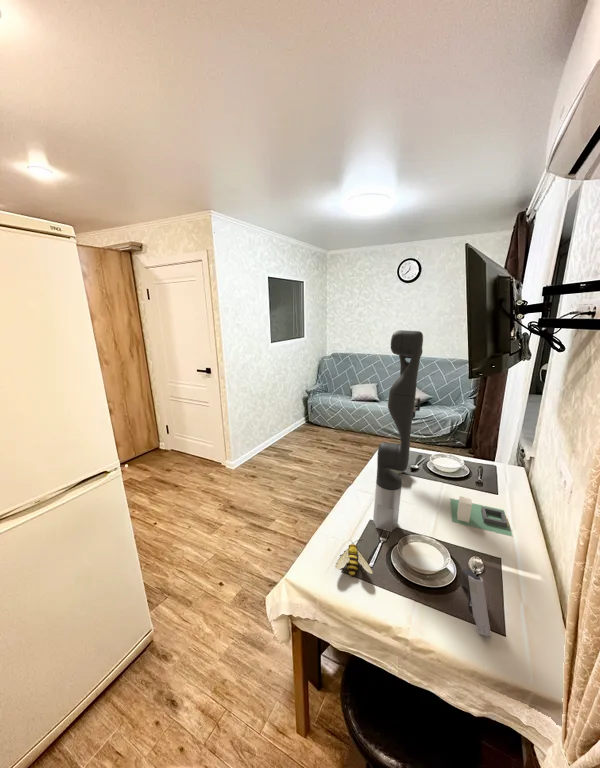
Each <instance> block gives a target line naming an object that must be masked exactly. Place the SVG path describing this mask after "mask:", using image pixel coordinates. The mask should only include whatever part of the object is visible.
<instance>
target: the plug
mask: <svg viewBox="0 0 600 768" xmlns="http://www.w3.org/2000/svg"><path fill="white" fill-rule="evenodd" d="M458 500H459V503H458V510H457V520H460V521H464V522H468V523H469V520H470V514H471V508H472V503H473V502H472V498H470V497H469V498H468V497H465V496H459V498H458Z"/></svg>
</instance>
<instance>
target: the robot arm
mask: <svg viewBox="0 0 600 768" xmlns="http://www.w3.org/2000/svg"><path fill="white" fill-rule="evenodd" d="M423 345H424V335H423V332H422V331H420V330H404V329H403V330H401V329H400V330H396V331H394V332H393V333H392V336H391V338H390V351H391V353H393V354H394V355H397V356H398V357H399V364H400V365H399V366H400V369H399V370H400V371H399V377H398V378H397V379H396V380H395V381H394V383H393V384H391V387H390V389H389V394H388V399H387V400H388V401H387V408H388V409H387V410H388V411H389V414H390V416H391V418H392V421H393V422H394V423H395V426H396V428H397V431H398V433H399V438H400V439H399V440H400V444H397V443H393V442H392V443H391V442H385V441H382V442H381V443H380V444H379V446H378V449H377V459H376V460H377V461H376V462H377V468H376V478H375V479H376V481H375V493H374V505H373V519H372V521H373V524H374V526H375V529H380V530H383V529H386V530H389V531H388V532H391V533H393V531H394V530H395V529H397V527H398V524H399V523H398V522H399V515H400V504H401V503H400V502H401V495H402V486H403V485H402V484H403V479H402V477H401V475H400V474H397V473H395V472H394V471H392V470H391V469H393V470H398V471H403V472H406V471H407V469H408V466H409V459H410V449H411V447H410V446H411V432H412V424H413V423H412V422H413V419H414V418H415V417H416V412H419V411H420V410H421V397H416V394H417V393H416V391H417V383H418V373H419V366H420V362H421V357H422V355H423ZM407 359H410V360H409V361H408V360H407ZM415 403H417V404H416V405H417V406H415ZM386 530H385V531H386Z"/></svg>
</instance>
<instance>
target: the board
mask: <svg viewBox="0 0 600 768" xmlns="http://www.w3.org/2000/svg"><path fill="white" fill-rule="evenodd" d="M449 499H450V513H451V523H455V524H460V525H463V526H467V527H471V528H476V529H480V530H483V531H488V532H493V533H496V534H501V535H505V536H509V537H513V533H512V530H511V527H510V525H509V521H508V518H507V515H506V511H505V510H504V509H501V508H496V507H491V506H487V505H483V504H478V503H473V502H472V508H471V514H470V520H469V523H468V522H464V521H460V520H457V510H458V503H459V499H455V498H449Z"/></svg>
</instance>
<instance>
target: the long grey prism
mask: <svg viewBox="0 0 600 768" xmlns="http://www.w3.org/2000/svg"><path fill="white" fill-rule="evenodd" d="M459 572H460V585H461V588H462V589H464V590H467V591H468V599H469V602H470V605H471V609H472V617H473V620H474V622H475V625H476V632H477V634H478V635H481V636H482V637H483V636H484V637H489V638H490V637H492V634H491V626H490V619H489V614H488V606H487V599H486V592H485V585H484V579H483V578H482V577H480V576H476V575H475V574H474V572H472V571H471V570H470V569H463V568H460V569H459Z"/></svg>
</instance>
